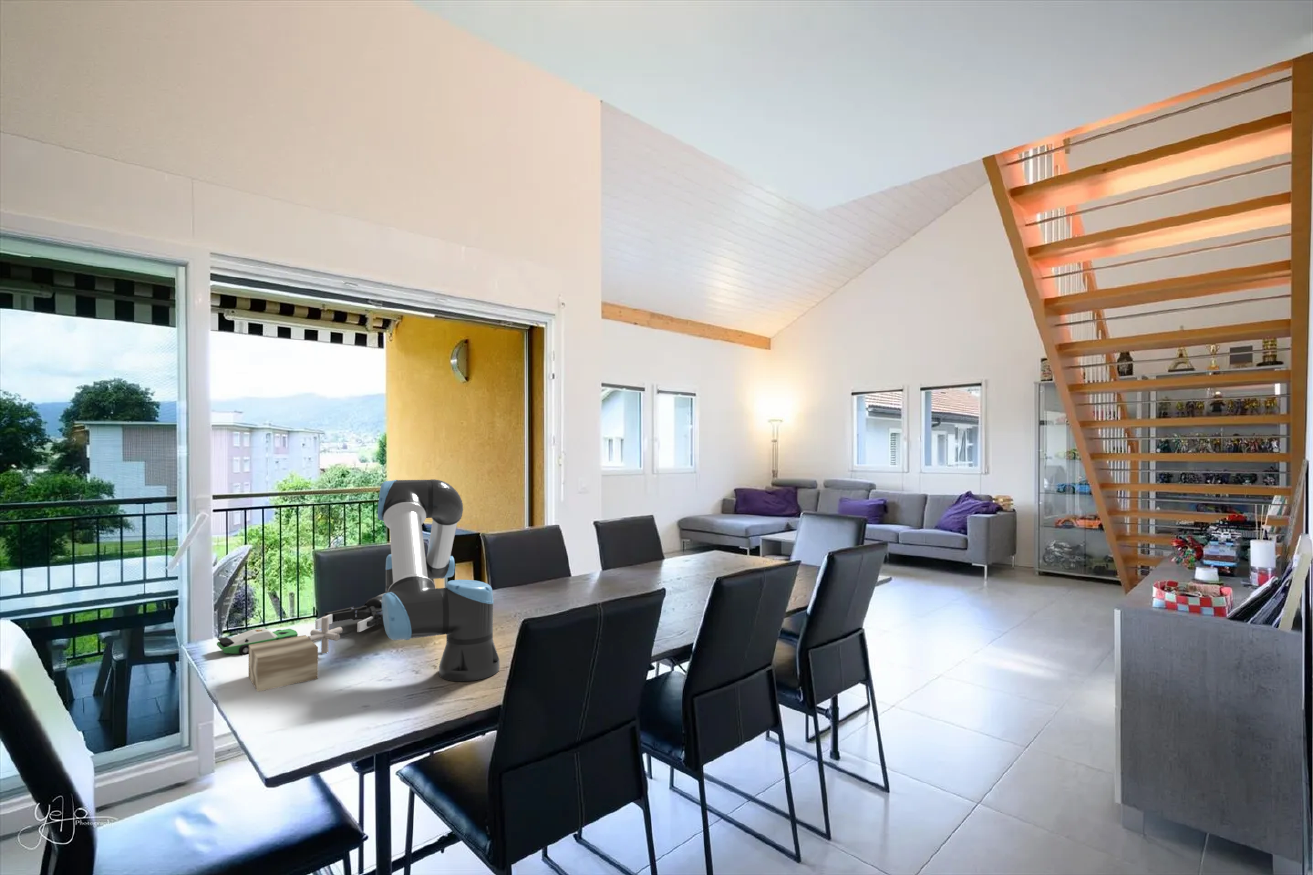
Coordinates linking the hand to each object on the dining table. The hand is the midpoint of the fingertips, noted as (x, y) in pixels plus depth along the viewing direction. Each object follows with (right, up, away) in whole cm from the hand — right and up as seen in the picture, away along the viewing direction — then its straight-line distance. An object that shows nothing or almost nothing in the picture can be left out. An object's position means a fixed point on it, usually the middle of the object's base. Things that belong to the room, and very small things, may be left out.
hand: (337, 626), depth 188 cm
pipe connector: (-1, -6, -6) cm, 8 cm away
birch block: (-1, -6, -25) cm, 26 cm away
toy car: (-22, -6, -1) cm, 23 cm away
